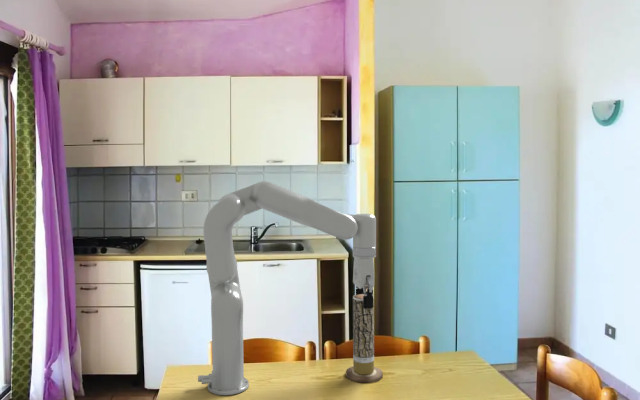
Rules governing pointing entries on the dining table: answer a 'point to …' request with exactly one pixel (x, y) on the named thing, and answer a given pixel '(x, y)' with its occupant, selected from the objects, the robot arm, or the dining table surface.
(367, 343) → the bark-patterned cylinder
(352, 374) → the base
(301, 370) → the dining table surface
